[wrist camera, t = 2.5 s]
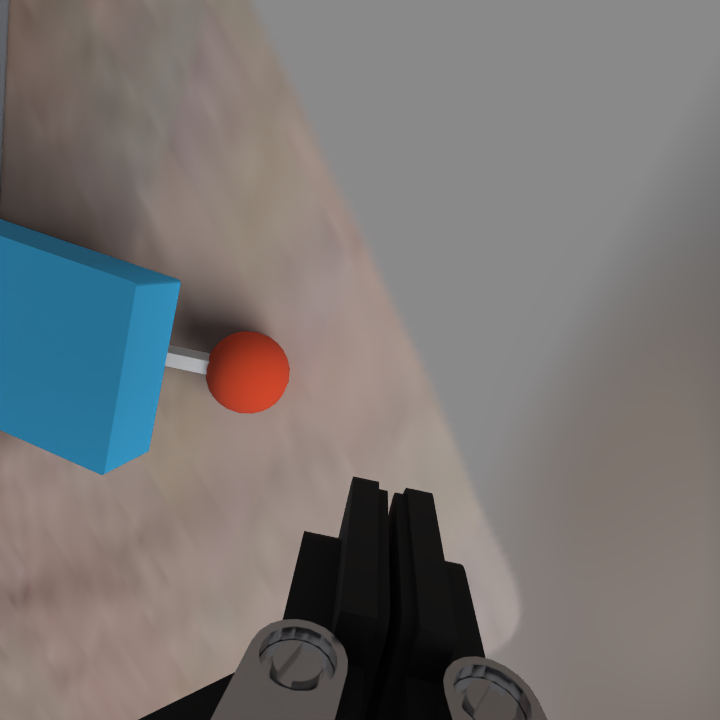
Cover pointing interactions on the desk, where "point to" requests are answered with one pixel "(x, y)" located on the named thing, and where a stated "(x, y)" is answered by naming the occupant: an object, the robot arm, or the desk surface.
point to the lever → (105, 351)
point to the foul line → (3, 65)
